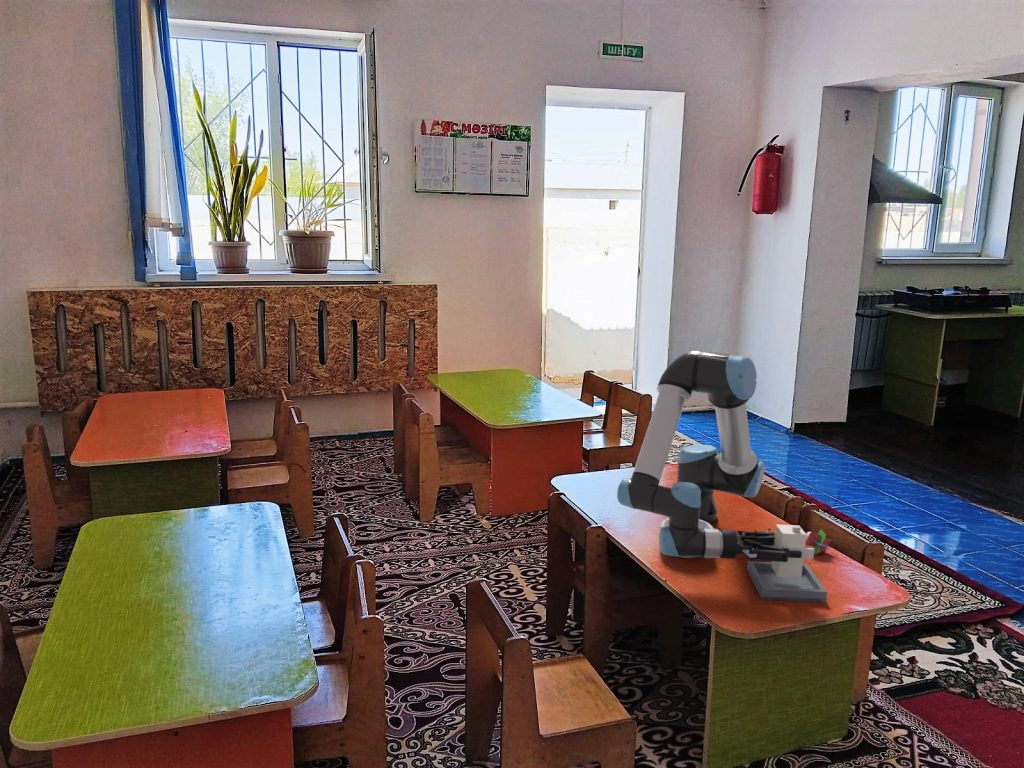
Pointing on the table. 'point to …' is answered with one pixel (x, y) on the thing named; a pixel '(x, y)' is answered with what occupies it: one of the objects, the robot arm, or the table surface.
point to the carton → (785, 539)
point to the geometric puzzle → (818, 541)
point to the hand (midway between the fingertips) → (808, 548)
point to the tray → (786, 584)
